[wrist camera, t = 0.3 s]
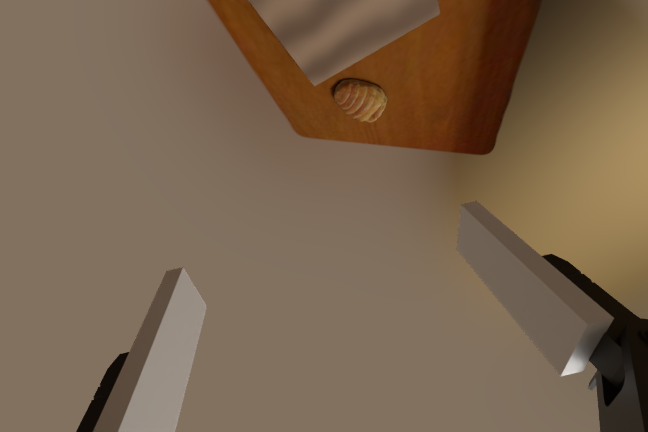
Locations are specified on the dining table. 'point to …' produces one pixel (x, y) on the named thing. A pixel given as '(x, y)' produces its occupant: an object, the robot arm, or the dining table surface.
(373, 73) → the dining table surface
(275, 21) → the walnut base
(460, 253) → the robot arm
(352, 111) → the pastry
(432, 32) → the dining table surface
